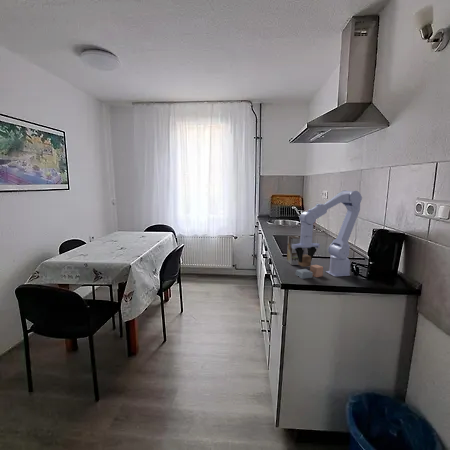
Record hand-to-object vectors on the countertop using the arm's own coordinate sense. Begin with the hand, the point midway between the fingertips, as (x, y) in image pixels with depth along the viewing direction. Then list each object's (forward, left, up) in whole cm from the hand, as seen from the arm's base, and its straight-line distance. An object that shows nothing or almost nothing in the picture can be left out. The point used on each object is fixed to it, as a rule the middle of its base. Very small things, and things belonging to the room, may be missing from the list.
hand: (304, 261), depth 136 cm
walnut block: (0, 0, -2) cm, 2 cm away
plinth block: (0, 0, -8) cm, 8 cm away
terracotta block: (-7, 0, -8) cm, 10 cm away
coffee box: (-6, -23, -8) cm, 25 cm away
